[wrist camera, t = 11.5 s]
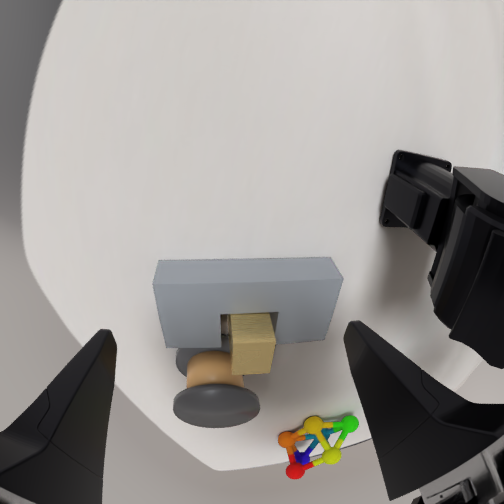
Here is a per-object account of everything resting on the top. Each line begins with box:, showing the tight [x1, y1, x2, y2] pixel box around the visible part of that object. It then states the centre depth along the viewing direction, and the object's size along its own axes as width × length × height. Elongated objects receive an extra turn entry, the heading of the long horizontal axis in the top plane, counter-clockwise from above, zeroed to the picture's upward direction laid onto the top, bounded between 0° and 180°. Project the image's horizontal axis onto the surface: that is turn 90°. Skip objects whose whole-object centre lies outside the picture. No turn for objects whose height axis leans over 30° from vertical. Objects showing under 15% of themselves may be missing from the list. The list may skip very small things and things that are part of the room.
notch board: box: [153, 257, 344, 348], centre depth 23 cm, size 14×7×3 cm, turn 87°
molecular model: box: [278, 415, 359, 479], centre depth 40 cm, size 11×10×15 cm
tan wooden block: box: [227, 312, 276, 375], centre depth 23 cm, size 3×4×6 cm
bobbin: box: [173, 334, 260, 428], centre depth 26 cm, size 8×8×7 cm
